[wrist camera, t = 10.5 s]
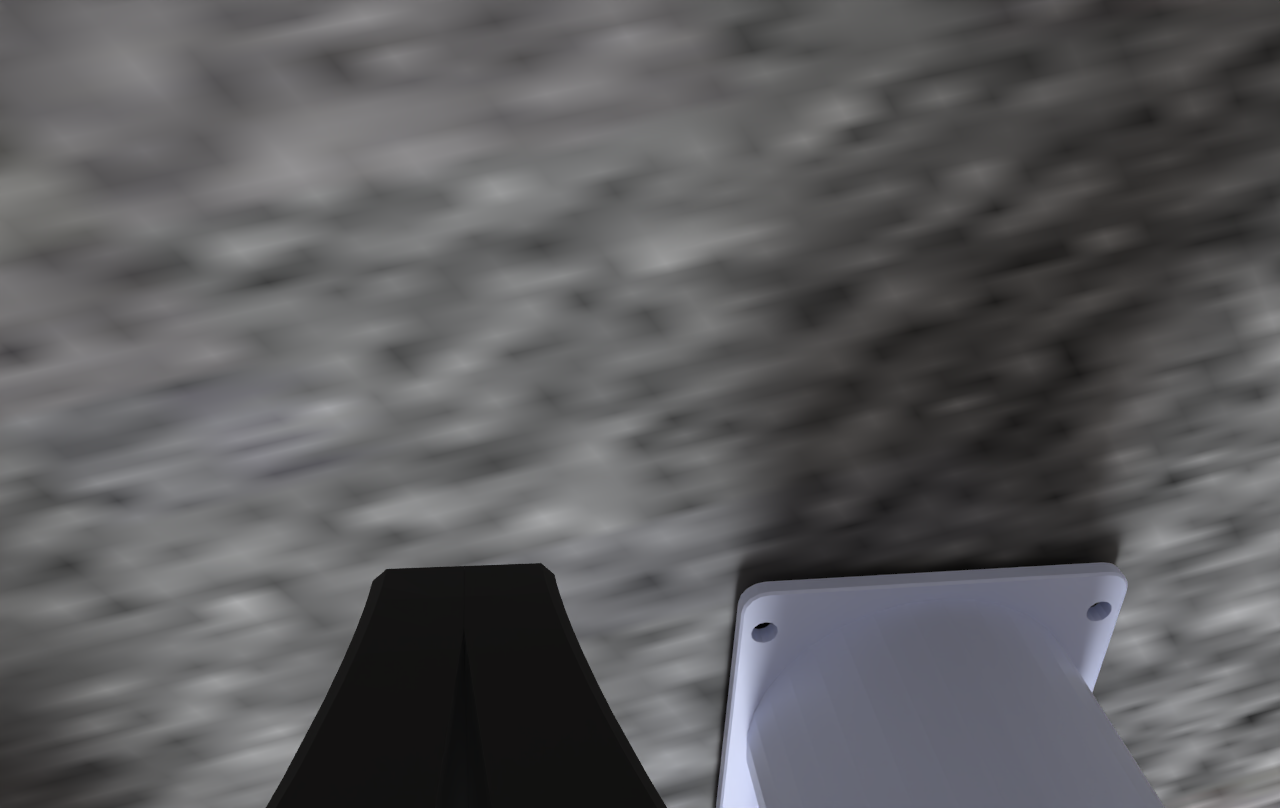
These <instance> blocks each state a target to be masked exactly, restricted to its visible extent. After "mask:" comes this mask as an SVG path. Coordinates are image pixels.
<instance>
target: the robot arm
mask: <svg viewBox="0 0 1280 808" xmlns="http://www.w3.org/2000/svg"><path fill="white" fill-rule="evenodd" d="M1127 586H1128V582H1127V580H1126V578H1125V576H1124V575H1123V573H1122V572H1121V571H1120V569H1119V568H1118V567H1117V566H1115V565H1114V564H1112V563H1105V562H1100V563H1082V564H1065V565H1047V566H1030V567H1012V568H995V569H977V570H960V571H942V572H925V573H908V574H890V575H873V576H855V577H838V578H820V579H803V580H785V581H768V582H761V583H757V584H754V585H752V586H751V587H749V588H747V589H746V590H745V591H744V592H743V593H742V594H741V596H740V599H739V602H738V609H737V618H736V627H735V636H734V646H733V655H732V664H731V673H730V682H729V692H728V701H727V710H726V719H725V728H724V738H723V747H722V756H721V765H720V775H719V784H718V793H717V802H716V808H1165V807H1164V805H1163V804H1162V802H1161V800H1160V799H1159V797H1158V796H1157V794H1156V793H1155V791H1154V789H1153V788H1152V786H1151V785H1150V783H1149V782H1148V780H1147V778H1146V777H1145V775H1144V774H1143V772H1142V771H1141V769H1140V767H1139V766H1138V764H1137V763H1136V761H1135V760H1134V758H1133V756H1132V755H1131V753H1130V752H1129V750H1128V749H1127V747H1126V745H1125V744H1124V742H1123V741H1122V739H1121V737H1120V736H1119V734H1118V733H1117V731H1116V730H1115V728H1114V726H1113V725H1112V723H1111V722H1110V720H1109V719H1108V717H1107V715H1106V714H1105V712H1104V711H1103V709H1102V708H1101V706H1100V704H1099V703H1098V701H1097V700H1096V698H1095V697H1094V695H1093V693H1092V692H1093V689H1094V686H1095V683H1096V680H1097V678H1098V675H1099V672H1100V669H1101V666H1102V663H1103V660H1104V657H1105V654H1106V651H1107V648H1108V645H1109V642H1110V639H1111V636H1112V633H1113V630H1114V627H1115V624H1116V621H1117V618H1118V615H1119V612H1120V609H1121V606H1122V603H1123V600H1124V598H1125V595H1126V592H1127ZM1098 602H1099V603H1098ZM1095 603H1098V604H1097V605H1095V606H1094V607H1091V606H1092V605H1094V604H1095ZM765 622H768V623H771V624H769V625H768V626H767V627H765V628H761V629H755V627H756V626H757V625H758V624H761V623H765ZM266 808H667V807H666V805H665V804H664V802H663V800H662V799H661V797H660V795H659V794H658V792H657V790H656V789H655V787H654V785H653V784H652V782H651V780H650V779H649V777H648V775H647V774H646V772H645V770H644V768H643V766H642V765H641V763H640V761H639V759H638V757H637V756H636V754H635V752H634V750H633V749H632V747H631V745H630V743H629V741H628V740H627V738H626V736H625V734H624V732H623V731H622V729H621V727H620V725H619V724H618V722H617V720H616V718H615V716H614V715H613V713H612V711H611V709H610V707H609V705H608V703H607V701H606V699H605V697H604V695H603V693H602V691H601V689H600V687H599V685H598V683H597V681H596V679H595V677H594V675H593V673H592V671H591V668H590V666H589V664H588V662H587V660H586V658H585V656H584V654H583V652H582V649H581V647H580V645H579V642H578V640H577V638H576V635H575V633H574V631H573V628H572V626H571V623H570V621H569V618H568V616H567V613H566V611H565V608H564V605H563V602H562V599H561V596H560V593H559V590H558V587H557V583H556V579H555V575H554V574H553V573H552V572H551V571H550V570H548V569H547V568H546V567H545V566H544V565H542V564H541V563H536V564H509V565H483V566H456V567H430V568H403V569H386V570H385V571H384V572H383V573H382V574H381V575H379V576H378V577H377V578H376V579H375V580H373V582H372V586H371V589H370V592H369V596H368V599H367V602H366V605H365V608H364V610H363V613H362V616H361V618H360V621H359V624H358V626H357V629H356V631H355V634H354V636H353V638H352V641H351V643H350V645H349V648H348V650H347V652H346V655H345V657H344V659H343V661H342V663H341V666H340V668H339V670H338V672H337V674H336V676H335V678H334V680H333V683H332V685H331V687H330V689H329V691H328V693H327V695H326V697H325V699H324V701H323V703H322V705H321V707H320V709H319V711H318V713H317V715H316V717H315V719H314V720H313V722H312V724H311V726H310V728H309V730H308V732H307V734H306V736H305V737H304V739H303V741H302V743H301V745H300V747H299V749H298V751H297V753H296V754H295V756H294V758H293V760H292V762H291V764H290V766H289V768H288V770H287V771H286V773H285V775H284V777H283V779H282V781H281V782H280V784H279V786H278V788H277V790H276V791H275V793H274V795H273V796H272V798H271V800H270V802H269V803H268V805H267V807H266Z"/></svg>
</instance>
